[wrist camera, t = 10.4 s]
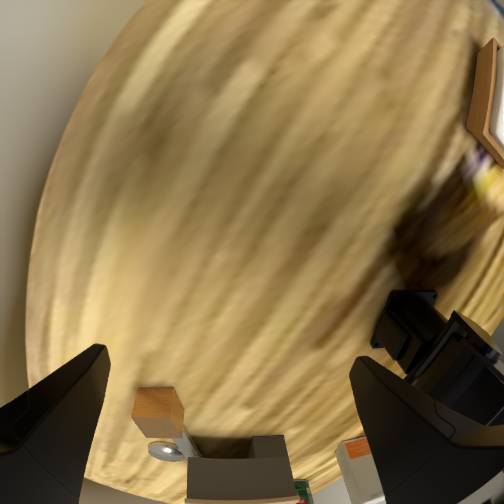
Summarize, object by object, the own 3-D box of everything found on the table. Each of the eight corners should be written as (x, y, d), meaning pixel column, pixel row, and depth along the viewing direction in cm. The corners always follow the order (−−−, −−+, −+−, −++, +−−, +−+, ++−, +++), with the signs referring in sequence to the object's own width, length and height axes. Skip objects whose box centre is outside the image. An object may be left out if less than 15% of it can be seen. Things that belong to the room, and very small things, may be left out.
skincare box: (374, 431, 33) (401, 489, 22) (366, 444, 35) (389, 498, 24) (340, 441, 33) (363, 504, 21) (333, 453, 34) (353, 511, 23)
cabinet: (285, 434, 30) (300, 499, 20) (270, 467, 34) (279, 518, 24) (187, 433, 28) (184, 502, 19) (190, 466, 32) (190, 520, 23)
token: (182, 441, 29) (181, 448, 28) (186, 456, 31) (185, 462, 30) (146, 437, 29) (144, 444, 28) (153, 453, 30) (152, 459, 29)
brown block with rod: (173, 387, 25) (169, 417, 21) (209, 457, 31) (210, 479, 27) (138, 387, 24) (131, 416, 21) (183, 457, 31) (182, 479, 27)
